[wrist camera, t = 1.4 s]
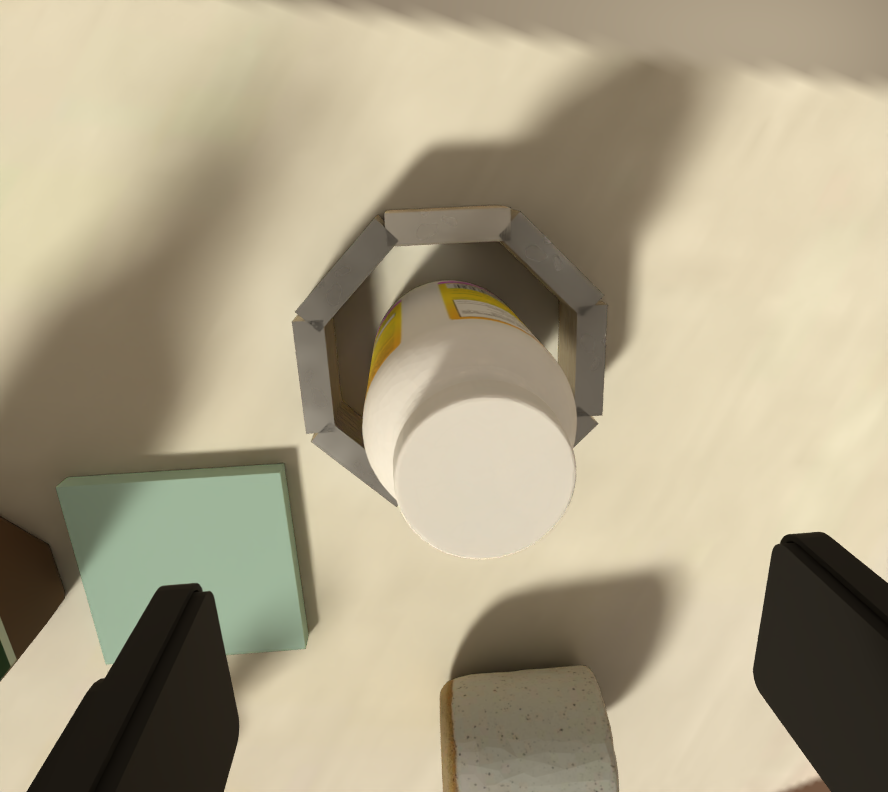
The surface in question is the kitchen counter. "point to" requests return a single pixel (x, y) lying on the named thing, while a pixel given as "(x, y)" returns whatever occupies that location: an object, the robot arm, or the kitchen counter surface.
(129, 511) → the pad
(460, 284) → the supplement bottle
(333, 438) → the collar
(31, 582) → the beer bottle
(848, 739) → the robot arm
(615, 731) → the kitchen counter surface
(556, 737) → the ceramic mug
